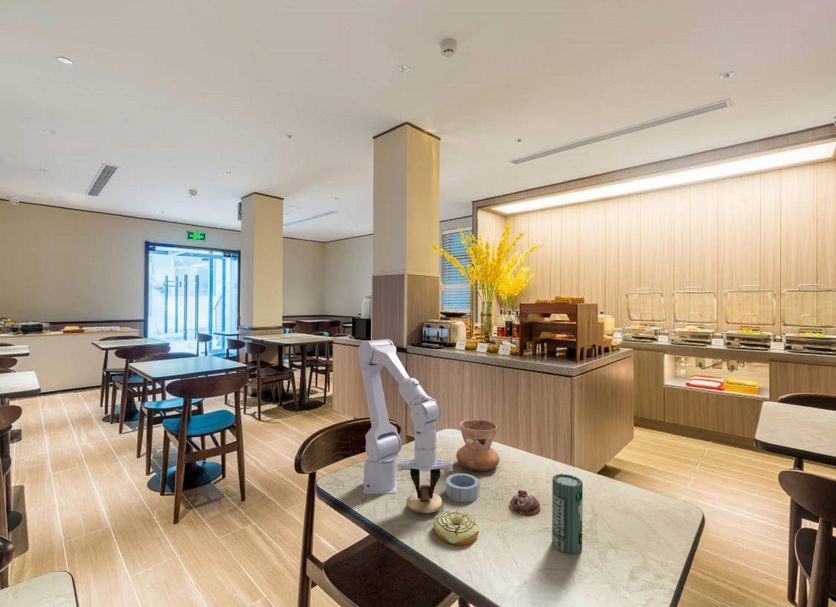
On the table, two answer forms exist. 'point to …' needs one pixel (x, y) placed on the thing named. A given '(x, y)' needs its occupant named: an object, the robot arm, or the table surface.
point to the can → (567, 513)
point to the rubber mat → (416, 515)
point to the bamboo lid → (424, 501)
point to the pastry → (524, 503)
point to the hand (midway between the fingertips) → (424, 496)
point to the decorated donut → (456, 527)
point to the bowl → (462, 487)
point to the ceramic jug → (478, 445)
